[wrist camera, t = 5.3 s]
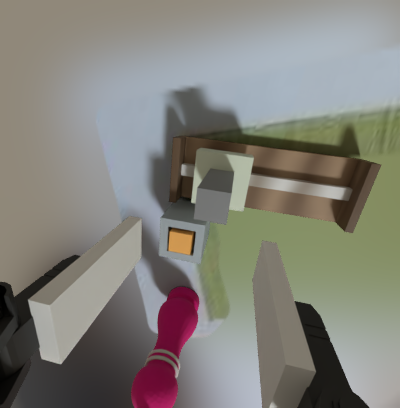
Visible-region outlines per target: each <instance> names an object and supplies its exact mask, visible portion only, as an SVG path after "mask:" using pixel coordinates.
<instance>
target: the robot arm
mask: <svg viewBox="0 0 400 408" xmlns="http://www.w3.org/2000/svg"><path fill="white" fill-rule="evenodd" d="M141 236H142V218H137V217H131V216H129V217H128V218H127V219H126V220H124V221H123V222H122V223H121V224H119V225H118V226H117V227H116V228H115V229H113V230H112V231H111V232H110V233H109V234H108V235H106V236H105V237H104V238H103V239H102V240H100V241H99V242H98V243H96V244H95V245H94V246H93V247H92V248H90V249H89V250H88V251H87V252H86V253H84V254H83V255H82V256H78V255H74V256H71V257H69V258H67V259H65V260H62V261H61V262H60V263H58V265H56V266H54V267H53V269H52V270H49V271H48V272H47V273H45V274H44V276H42V277H40V278H39V279H38V280H36V281H35V282H34V283H32V284H31V285H30V286H28V287H27V288H26V289H24V290H23V291H22V292H21V293H19V294H18V295H17V296H15V297H14V295H13V291H12V288H11V285H10V284H8V283H5V282H0V408H10V407H11V405H12V403H13V401H14V399H15V397H16V395H17V393H18V391H19V389H20V387H21V385H22V383H23V381H24V379H25V377H26V375H27V373H28V371H29V369H30V366H31V360H30V357H31V356H32V355H33V354H34V353H35V352H36V351H37V350H38V348H39V349H40V353H41V357H42V359H44V360H48V361H51V362H55V363H58V364H62V362H63V361H64V360H65V358H66V357H67V356H68V354H69V353H70V352H71V350H72V349H73V348H74V346H75V345H76V344H77V342H78V341H79V340H80V338H81V337H82V336H83V334H84V333H85V332H86V330H87V329H88V328H89V326H90V325H91V324H92V322H93V321H94V319H95V318H96V317H97V315H98V314H99V313H100V312H101V310H102V309H103V308H104V306H105V305H106V304H107V302H108V301H109V300H110V298H111V297H112V296H113V294H114V293H115V292H116V290H117V289H118V287H119V286H120V285H121V284H122V282H123V281H124V279H125V278H126V277H127V276H128V274H129V273H130V272H131V270H132V269H133V268H134V266H135V265H136V264H137V262H138V261H139V260H140V258H141ZM253 293H254V306H255V319H256V331H257V345H258V357H259V370H260V383H261V396H262V408H369V407H368V406H367V405H366V404H365V402H364V401H363V400H362V399H361V398H360V397H359V396H358V395H356V394H355V393H353V392H352V390H351V388H350V386H349V383H348V381H347V378H346V376H345V374H344V371H343V369H342V367H341V364H340V362H339V359H338V357H337V355H336V352H335V350H334V347H333V345H332V343H331V342H330V338H329V336H328V333H327V331H326V330H325V326H324V324H323V321H322V319H321V317H320V315H319V314H318V313H317V311H316V310H315V309H314V308H313V307H312V306H311V305H310V304H306V303H301V302H296V301H294V298H293V295H292V292H291V289H290V285H289V282H288V279H287V276H286V272H285V269H284V266H283V262H282V260H281V256H280V253H279V249H278V246H277V243H274V242H268V241H262V244H261V248H260V252H259V256H258V260H257V264H256V268H255V272H254V276H253Z"/></svg>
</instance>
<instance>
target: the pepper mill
mask: <svg viewBox="0 0 400 408" xmlns="http://www.w3.org/2000/svg"><path fill="white" fill-rule="evenodd" d="M198 306H199V298H198V296H197V294H196V293H195V292H194V291H193V290H191V289H189V288H186V287H176V288H174V289H173V290H171V292H170V293H169V296H168V298H167V301H166V302H165V303H163V305H162V306H161V308H160V311H159V314H158V340H157V343H156V346H155V348H154V350H153V351H151V352H150V353H149V355H148V357H147V360H146V362H145V367H143V368H142V369H141V370H140V371H139V372H138V373H137V375H136V377H135V379H134V382H133V385H132V392H131V395H132V402H133V405H134V407H135V408H172V406H173V405H174V403H175V400H176V397H177V392H178V385H177V380H176V378H177V376H178V373H179V369H180V361H179V355H180V352H181V349H182V347H183V345H184V344H185V342H186V341H187V340H188V339H189V338H190V337H191V335H192V334H193V332H194V330H195V328H196V326H197V322H198V314H197V310H198Z"/></svg>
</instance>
